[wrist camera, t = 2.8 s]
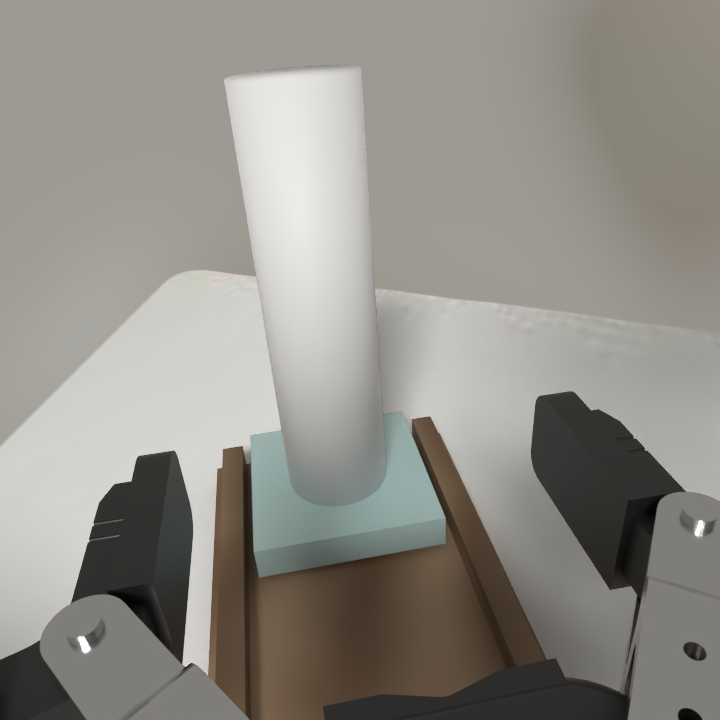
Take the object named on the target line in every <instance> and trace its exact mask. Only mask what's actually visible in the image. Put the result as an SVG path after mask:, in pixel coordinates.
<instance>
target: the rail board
mask: <svg viewBox="0 0 720 720" xmlns="http://www.w3.org/2000/svg"><path fill="white" fill-rule="evenodd" d="M412 436H413V439H414V441H415V444H416V446H417V449H418V451H419V454H420V456H421V459H422V461H423V463H424V466H425V468H426V471H427V473H428V476H429V478H430V481H431V483H432V486H433V488H434V490H435V493H436V495H437V498H438V500H439V503H440V505H441V508H442V510H443V513H444V515H445V518H446V544H441V545H435V546H430V547H424V548H419V549H413V550H408V551H402V552H397V553H392V554H386V555H381V556H375V557H370V558H364V559H359V560H353V561H348V562H342V563H337V564H331V565H326V566H320V567H315V568H309V569H304V570H298V571H293V572H287V573H282V574H276V575H271V576H265V577H260V578H259V574H258V569H257V565H256V560H255V556H254V544H253V509H252V474H251V464H246V460H245V456H244V451H243V446H240V447H234V448H228V449H223V466H222V468H220V469H218V471H217V493H216V515H215V538H214V560H213V582H212V605H211V627H210V649H209V672H208V677H209V678H210V679H211V680H212V681H213V682H214V683H215V684H216V685H217V686H218V687H219V688H220V689H221V690H222V691H223V692H224V693H225V694H226V695H227V696H228V697H229V699H230V700H231V701H232V702H233V703H234V704H235V705H236V706H237V707H238V708H239V709H240V710H241V711H242V712H243V713H244V714H245V715H246V716H247V717H248V718H249V719H250V720H325V719H324V711H323V706H326V705H331V704H336V703H341V702H346V701H351V700H356V699H360V698H365V697H370V696H375V695H380V694H391V695H411V696H432V697H445V696H449V695H452V694H454V693H456V692H458V691H460V690H462V689H464V688H466V687H468V686H470V685H472V684H473V683H475V682H477V681H479V680H481V679H483V678H485V677H487V676H489V675H491V674H493V673H495V672H497V671H499V670H502V669H506V668H511V667H516V666H521V665H526V664H531V663H536V662H540V661H545V660H546V657H545V655H544V653H543V651H542V649H541V647H540V645H539V643H538V641H537V638H536V636H535V634H534V632H533V630H532V628H531V626H530V624H529V622H528V619H527V617H526V615H525V613H524V611H523V609H522V607H521V605H520V602H519V600H518V598H517V596H516V594H515V592H514V590H513V588H512V586H511V583H510V581H509V579H508V577H507V575H506V573H505V571H504V569H503V567H502V564H501V562H500V560H499V558H498V556H497V554H496V552H495V550H494V548H493V545H492V543H491V541H490V539H489V537H488V535H487V533H486V531H485V529H484V526H483V524H482V522H481V520H480V518H479V516H478V514H477V512H476V510H475V507H474V505H473V503H472V501H471V499H470V497H469V495H468V493H467V491H466V488H465V486H464V484H463V482H462V480H461V478H460V476H459V474H458V471H457V469H456V467H455V465H454V463H453V461H452V459H451V457H450V455H449V452H448V450H447V448H446V446H445V444H444V442H443V440H442V438H441V436H440V433H438V432H437V430H436V428H435V426H434V424H433V422H432V419H431V417H423V418H417V419H412Z"/></svg>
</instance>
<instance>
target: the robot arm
mask: <svg viewBox="0 0 720 720" xmlns="http://www.w3.org/2000/svg"><path fill="white" fill-rule="evenodd" d="M531 458H532V464H533V468H534V471H535V473H536V476H537V478H538V479H539V481H540V482H541V484H542V485H543V487H544V489H545V490H546V492H547V493H548V495H549V496H550V498H551V499H552V501H553V502H554V504H555V505H556V507H557V509H558V510H559V512H560V513H561V515H562V516H563V518H564V519H565V521H566V522H567V524H568V526H569V527H570V529H571V530H572V532H573V533H574V535H575V536H576V538H577V539H578V541H579V543H580V544H581V546H582V547H583V549H584V550H585V552H586V553H587V555H588V556H589V558H590V559H591V561H592V563H593V564H594V566H595V567H596V569H597V570H598V572H599V573H600V575H601V576H602V578H603V580H604V581H605V583H606V584H607V586H608V587H609V589H610V590H612V589H617V588H622V587H628V586H632V588H633V589H634V591H635V592H636V594H637V596H636V601H635V605H634V611H633V617H632V623H631V629H630V635H629V641H628V647H627V653H626V660H625V666H624V672H623V678H622V683H621V688H620V692H618V691H616V690H614V689H611V688H609V687H606V686H604V685H601V684H598V683H594V682H591V681H587V680H582V679H576V678H569V677H565V676H564V674H563V672H562V670H561V668H560V666H559V664H558V662H557V660H556V658H555V659H550V660H545V661H540V662H536V663H531V664H526V665H521V666H516V667H511V668H506V669H502V670H499V671H497V672H495V673H493V674H491V675H489V676H487V677H485V678H483V679H481V680H479V681H477V682H475V683H473V684H472V685H470V686H468V687H466V688H464V689H462V690H460V691H458V692H456V693H454V694H452V695H449V696H445V697H432V696H411V695H391V694H380V695H375V696H370V697H365V698H360V699H356V700H351V701H346V702H341V703H336V704H331V705H326V706H323V711H324V719H325V720H720V502H719V501H717V500H715V499H713V498H711V497H708V496H706V495H702V494H698V493H693V492H686V491H685V490H684V489H683V488H682V487H681V486H680V485H679V484H678V483H677V482H676V481H675V480H674V479H673V478H672V476H671V475H670V474H669V473H668V472H667V471H666V470H665V469H664V468H663V467H662V466H661V465H660V464H659V463H658V462H657V460H656V459H655V458H654V457H653V456H652V455H651V454H650V453H649V452H648V451H645V448H644V447H643V446H642V445H641V443H640V442H639V441H638V440H637V439H634V438H633V435H632V434H631V433H630V432H629V431H628V430H627V429H626V427H625V426H624V425H623V424H622V423H621V422H620V421H619V420H617V419H615V418H613V417H611V416H610V415H608V414H606V413H604V412H602V411H601V410H599V409H598V410H592V411H591V410H590V409H589V408H588V407H587V406H586V405H585V403H584V402H583V401H582V400H581V399H580V398H579V397H578V396H577V395H576V394H575V393H574V392H572V391H570V392H563V393H557V394H550V395H544V396H539V397H538V398H537V400H536V404H535V414H534V425H533V435H532V446H531ZM89 540H90V542H89V543H88V545H87V548H86V552H85V555H84V559H83V562H82V566H81V570H80V573H79V577H78V580H77V584H76V587H75V591H74V595H73V598H72V602H71V604H70V605H68V606H66V607H65V608H64V609H62V610H61V611H60V612H59V613H58V614H56V615H55V616H54V617H53V618H52V620H51V621H50V622H49V623H48V625H47V626H46V628H45V629H44V632H43V634H42V636H41V640H40V641H38V642H36V643H35V644H33V645H32V646H30V647H28V648H26V649H24V650H21V651H19V652H17V653H15V654H12V655H10V656H8V657H6V658H3V659H1V660H0V720H250V719H249V718H248V717H247V716H246V715H245V714H244V713H243V712H242V711H241V710H240V709H239V708H238V707H237V706H236V705H235V704H234V703H233V702H232V701H231V700H230V699H229V697H228V696H227V695H226V694H225V693H224V692H223V691H222V690H221V689H220V688H219V687H218V686H217V685H216V684H215V683H214V682H213V681H212V680H211V679H210V678H209V677H208V675H207V674H206V673H205V672H204V671H203V670H202V669H200V668H199V667H198V666H197V665H195V664H193V663H190V664H189V665H188V666H187V667H185V666H183V665H182V660H183V648H184V636H185V624H186V612H187V600H188V588H189V576H190V564H191V552H192V540H193V520H192V512H191V507H190V502H189V499H188V495H187V491H186V487H185V483H184V479H183V476H182V472H181V468H180V464H179V460H178V457H177V454H176V452H175V451H169V452H162V453H156V454H149V455H143V456H138V457H137V460H136V464H135V468H134V473H133V477H132V482H125V483H119V484H114V485H113V487H112V488H111V489H110V490H109V491H108V493H107V494H106V495H105V496H104V498H103V499H102V500H101V501H100V503H99V505H98V509H97V512H96V516H95V520H94V526H93V527H92V530H91V534H90V537H89Z"/></svg>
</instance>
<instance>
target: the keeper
mask: <svg viewBox="0 0 720 720" xmlns="http://www.w3.org/2000/svg"><path fill="white" fill-rule="evenodd" d="M224 82H225V89H226V95H227V101H228V107H229V113H230V119H231V125H232V131H233V137H234V144H235V149H236V156H237V162H238V168H239V174H240V180H241V186H242V192H243V198H244V204H245V210H246V216H247V222H248V228H249V235H250V241H251V247H252V252H253V258H254V265H255V271H256V277H257V283H258V290H259V296H260V302H261V308H262V314H263V320H264V326H265V332H266V338H267V344H268V350H269V356H270V363H271V369H272V375H273V381H274V387H275V393H276V399H277V405H278V411H279V417H280V423H281V429H282V430H281V431H275V432H268V433H262V434H256V435H250V439H251V474H252V509H253V544H254V556H255V560H256V565H257V569H258V574H259V578H260V577H265V576H271V575H276V574H282V573H287V572H293V571H298V570H304V569H309V568H315V567H320V566H326V565H331V564H337V563H342V562H348V561H353V560H359V559H364V558H370V557H375V556H381V555H386V554H392V553H397V552H402V551H408V550H413V549H419V548H424V547H430V546H435V545H441V544H446V518H445V515H444V513H443V510H442V508H441V505H440V503H439V500H438V498H437V495H436V493H435V490H434V488H433V486H432V483H431V481H430V478H429V476H428V473H427V471H426V468H425V466H424V463H423V461H422V459H421V456H420V454H419V451H418V449H417V446H416V444H415V441H414V439H413V436H412V434H411V432H410V429H409V427H408V424H407V422H406V419H405V417H404V414H403V412H396V413H390V414H383V410H382V394H381V378H380V362H379V346H378V330H377V314H376V298H375V283H374V266H373V252H372V235H371V219H370V203H369V187H368V171H367V155H366V140H365V125H364V108H363V91H362V75H361V67H358V66H351V65H323V66H305V67H292V68H280V69H271V70H264V71H256V72H250V73H245V74H239V75H234V76H231V77H228V78H226V79H224Z"/></svg>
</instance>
